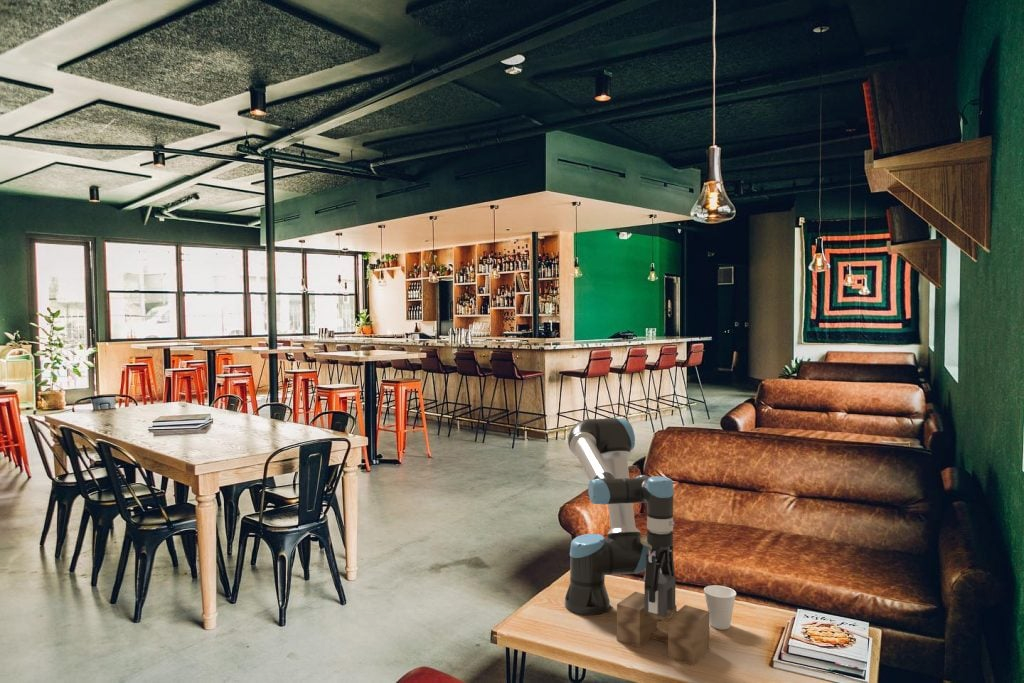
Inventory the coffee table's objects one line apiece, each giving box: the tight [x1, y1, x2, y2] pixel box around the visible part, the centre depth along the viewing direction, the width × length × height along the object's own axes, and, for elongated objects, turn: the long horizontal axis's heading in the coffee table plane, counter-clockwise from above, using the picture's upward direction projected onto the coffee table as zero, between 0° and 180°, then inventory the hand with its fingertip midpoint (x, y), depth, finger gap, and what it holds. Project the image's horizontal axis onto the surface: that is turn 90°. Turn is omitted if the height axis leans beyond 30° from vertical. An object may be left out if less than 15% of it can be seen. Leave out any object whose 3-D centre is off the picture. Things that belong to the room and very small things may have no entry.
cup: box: [703, 584, 737, 630], centre depth 204 cm, size 10×10×11 cm
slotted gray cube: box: [644, 573, 676, 617], centre depth 190 cm, size 6×8×9 cm
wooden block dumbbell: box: [616, 591, 710, 666], centre depth 191 cm, size 24×12×11 cm, turn 52°
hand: (659, 607), depth 190 cm, fingers closed on slotted gray cube, 8 cm apart
